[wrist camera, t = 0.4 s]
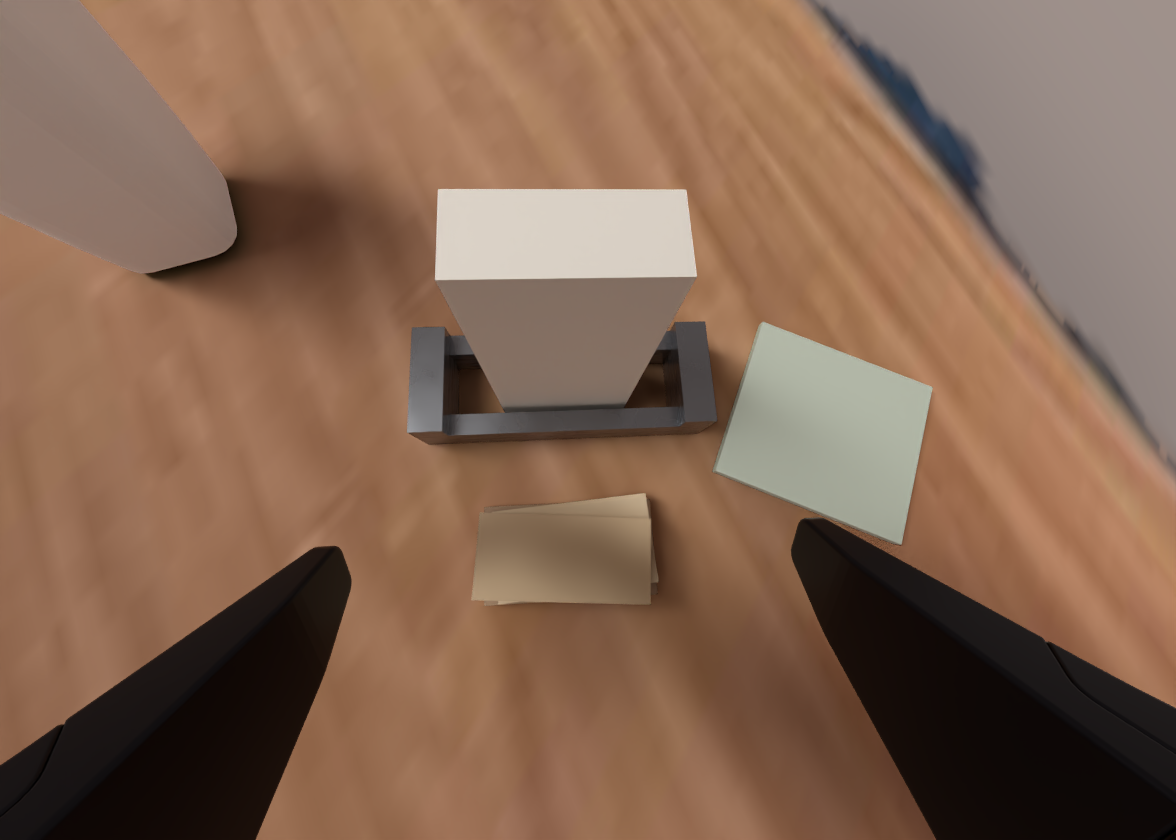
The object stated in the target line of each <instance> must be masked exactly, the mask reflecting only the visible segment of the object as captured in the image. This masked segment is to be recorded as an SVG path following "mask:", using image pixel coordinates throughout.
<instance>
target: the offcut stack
mask: <svg viewBox="0 0 1176 840" xmlns="http://www.w3.org/2000/svg"><path fill="white" fill-rule="evenodd" d="M657 582H659V581H658V574H657V567H656V561H655V554H654V545H653V533H652V521H651V509H650V499H646V494H645V493H642V494H634V495H626V496H618V497H609V498H601V499H593V500H585V501H577V502H569V503H557V504H538V505H518V506H498V507H485V513H480V515H479V526H478V536H477V547H476V558H475V569H474V580H473V591H472V600H484V606H490V605H505V604H520V603H535V602H562V603H601V604H639V605H651V595H654V594H658V593H657Z"/></svg>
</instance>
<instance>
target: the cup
mask: <svg viewBox="0 0 1176 840" xmlns="http://www.w3.org/2000/svg"><path fill="white" fill-rule="evenodd" d="M0 214H2V215H4V216H7V217H9V218H11V219H13V220H15V221H18V222H20V223H22V224H24V225H26V226H29V227H31V228H33V229H35V230H37V231H40V232H42V233H44V234H46V235H48V236H51V237H53V238H55V239H57V240H59V241H62V242H64V243H66V244H68V245H70V246H73V247H75V248H77V249H80V250H82V251H84V252H87V253H89V254H92V255H94V256H96V257H99V258H101V259H103V260H106V261H108V262H111V263H113V264H115V265H118V266H120V267H122V268H125V269H127V270H129V271H132V272H136V273H141V274H143V273H153V272H157V271H160V270H164V269H168V268H172V267H175V266H179V265H183V264H187V263H190V262H194V261H198V260H202V259H205V258H209V257H213V256H216V255H218V254H220V253H223V252H225V251H226V250H227V249H228V248H229V247H230V246H231V245H233V243H234V241H235V239H236V237H237V225H236V221H235V217H234V212H233V208H232V204H231V200H230V195H229V191H228V187H227V183H226V180H225V178H224V176H223V175H222V173H221V172H220V171H219V169H218V168H217V167H216V165H215V164H214V163H213V162H212V160H211V159H210V158H209V156H208V155H207V154H206V152H205V151H204V150H203V148H202V147H201V146H200V145H199V143H198V142H197V141H196V139H195V138H194V137H193V135H192V134H191V133H190V131H189V130H188V129H187V128H186V126H185V125H184V124H183V123H182V121H181V120H180V119H179V118H178V117H177V115H176V114H175V113H174V112H173V110H172V109H171V108H170V107H169V105H168V104H167V103H166V102H165V101H164V99H163V98H162V97H161V96H160V94H159V93H158V92H157V91H156V89H155V88H154V87H153V86H152V85H151V83H150V82H149V81H148V80H147V78H146V77H145V76H144V75H143V73H142V72H141V71H140V70H139V69H138V68H137V66H136V65H135V64H134V63H133V62H132V61H131V60H130V58H129V57H128V56H127V55H126V54H125V53H124V51H123V50H122V49H121V48H120V47H119V46H118V45H117V43H116V42H115V41H114V40H113V39H112V38H111V36H110V35H109V34H108V33H107V32H106V31H105V30H104V28H103V27H102V26H101V25H100V24H99V23H98V21H97V20H96V19H95V18H94V17H93V16H92V15H91V13H90V12H89V11H88V10H87V9H86V8H85V6H84V5H83V4H82V3H81V2H80V1H79V0H0Z"/></svg>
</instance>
